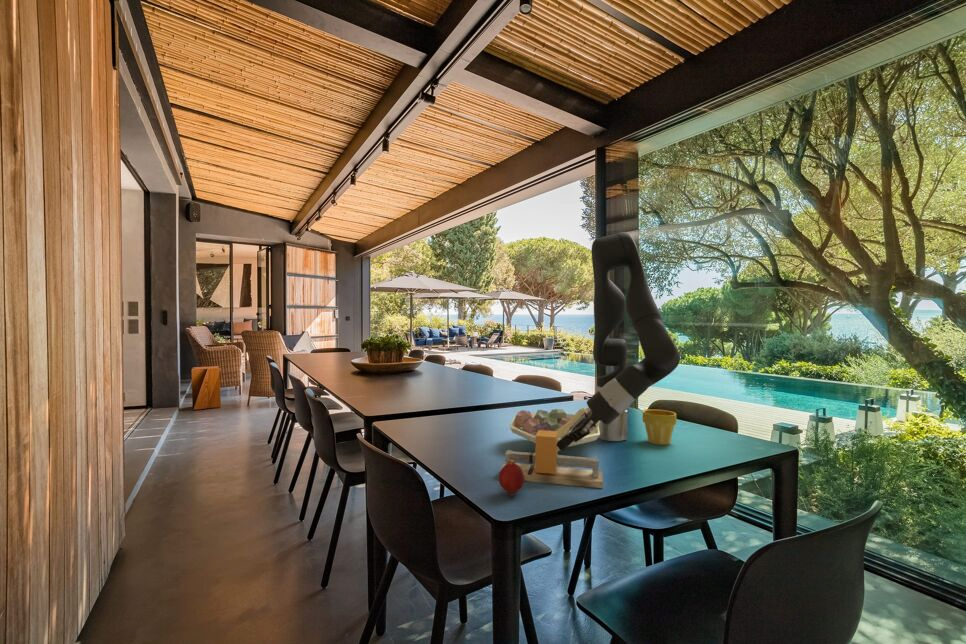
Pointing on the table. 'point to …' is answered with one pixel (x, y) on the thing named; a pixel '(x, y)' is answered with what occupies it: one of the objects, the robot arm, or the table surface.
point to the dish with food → (549, 424)
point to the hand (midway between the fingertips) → (559, 447)
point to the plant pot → (659, 425)
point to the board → (562, 476)
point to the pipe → (557, 461)
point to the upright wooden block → (546, 451)
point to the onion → (511, 478)
